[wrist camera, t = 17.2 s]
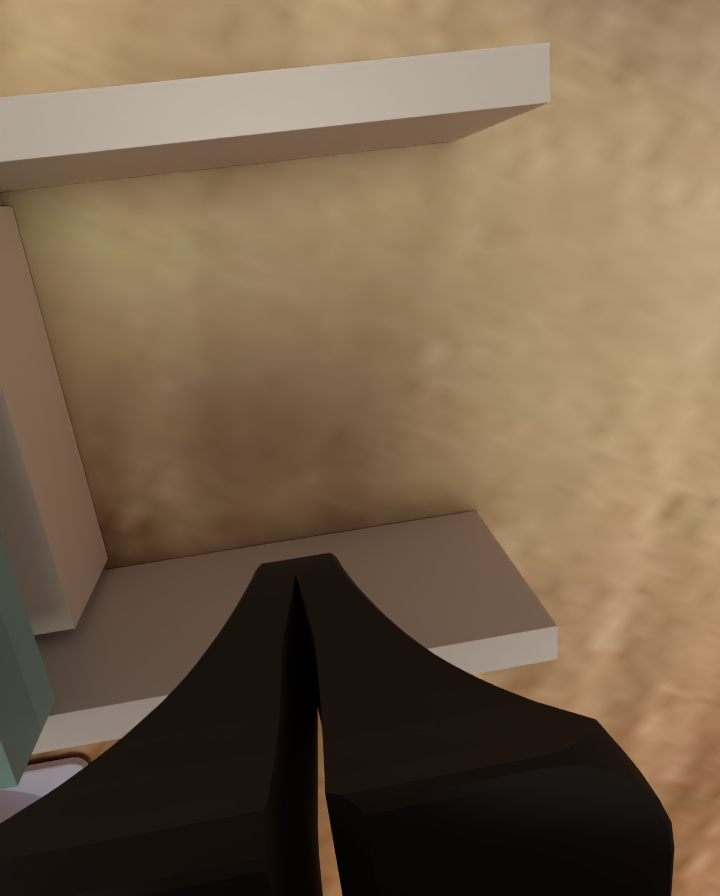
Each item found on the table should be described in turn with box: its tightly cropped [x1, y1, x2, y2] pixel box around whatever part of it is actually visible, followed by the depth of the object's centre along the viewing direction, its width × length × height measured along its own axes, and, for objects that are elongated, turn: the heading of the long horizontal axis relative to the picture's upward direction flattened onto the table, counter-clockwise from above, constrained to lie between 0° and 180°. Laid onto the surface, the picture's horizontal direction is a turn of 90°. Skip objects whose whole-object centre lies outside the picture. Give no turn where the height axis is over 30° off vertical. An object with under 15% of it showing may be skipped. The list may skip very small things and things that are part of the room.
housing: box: [0, 42, 558, 754], centre depth 17 cm, size 14×24×7 cm, turn 96°
